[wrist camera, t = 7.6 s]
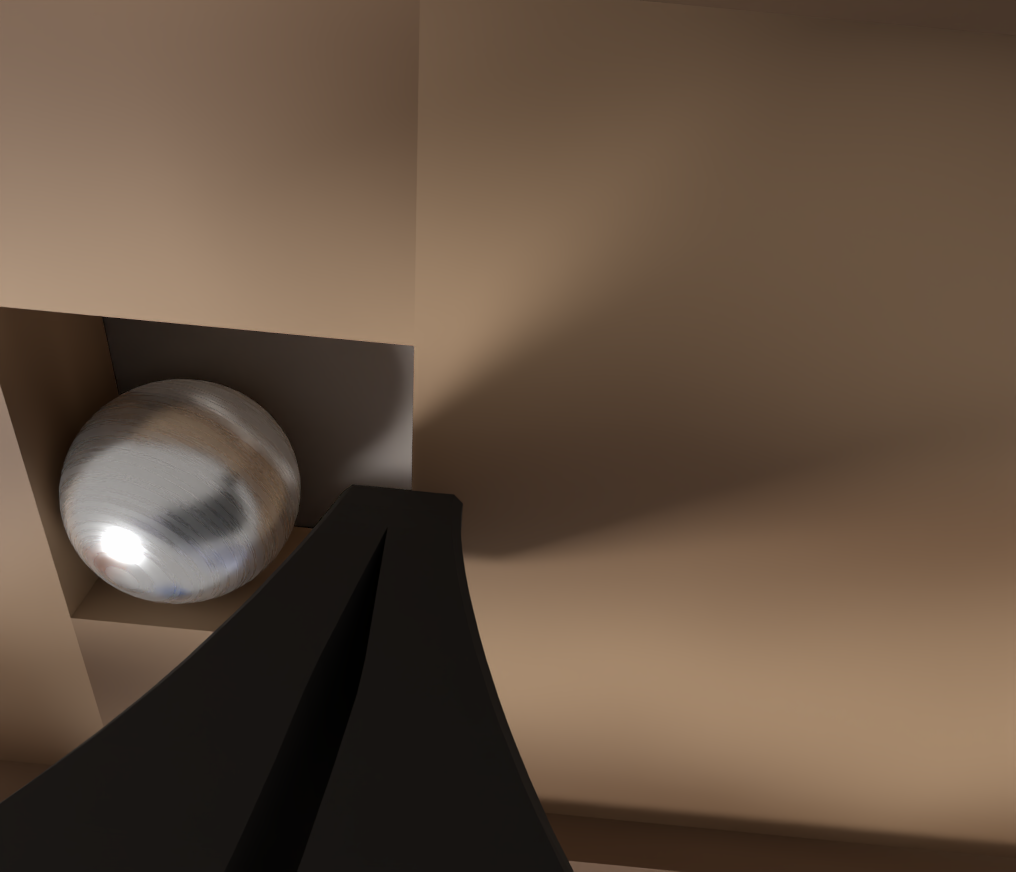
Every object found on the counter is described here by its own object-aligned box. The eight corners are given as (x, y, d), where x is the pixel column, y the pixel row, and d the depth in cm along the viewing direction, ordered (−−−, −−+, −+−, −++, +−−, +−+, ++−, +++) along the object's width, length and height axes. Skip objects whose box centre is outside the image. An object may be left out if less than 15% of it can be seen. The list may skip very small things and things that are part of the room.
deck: (1090, 773, 16) (1197, 948, 14) (57, 674, 17) (-43, 828, 14) (1695, -12, 9) (2213, 26, 6) (-229, -191, 9) (-585, -236, 6)
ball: (354, 498, 14) (265, 667, 11) (187, 473, 14) (73, 626, 12) (305, 344, 11) (184, 517, 9) (111, 324, 12) (-45, 478, 10)
